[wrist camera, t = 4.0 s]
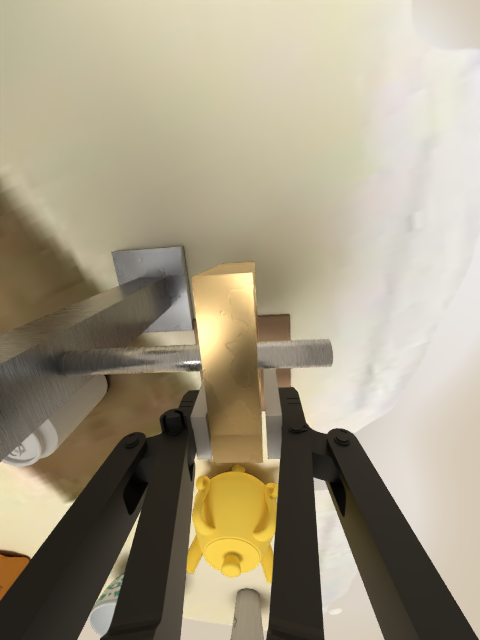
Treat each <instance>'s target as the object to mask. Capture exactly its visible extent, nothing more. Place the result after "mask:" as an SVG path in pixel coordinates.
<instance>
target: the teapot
mask: <svg viewBox="0 0 480 640" xmlns="http://www.w3.org/2000/svg"><path fill="white" fill-rule="evenodd" d="M196 487H197V489H198V490H199V491H198V493H197V495H196V498H195V503H194V508H193V513H192V520H193V523H194V526H195V531H196V536H195V538H194V540H193V542H192V544H191V546H190V548H189V550H188V557H187V569H186V571H187V572H189V573H190V574H193V573H194V571H195V569H196V567H197V565H198V563H199V561H200V559H201V557H202V555H204V558H205V560H206V561H207V562H208V563H209V564H210V565H211V566H212V567H213V568H215V569H217V570H219V571H221V573H222V574H223V575H225V576H227V577H237V576H239V575H240V574H241V573H245V572H248V571H251V570H253V569H254V568H255V567H256V566H258V564H259V563H260V561H261V565H262V568H263V571H264V574H265V577H266V580H267V583H271V582H272V571H273V557H274V555H273V551H272V548H271V545H270V542H271V540H272V538H273V535H274V534H275V528H276V513H277V503H276V500H275V499H276V498H277V497H278V486H277V484H275V483H268V484H266V485H265V484H264V483H263V482H261V481H260V480H259V479H258V478H256V477H254V476H252V475H250V474H247V473H245V467H244V466H242V465H234V466H233V467H232V472H225V473H221V474H219V475H217V476H215V477H213V478H211V479H209V477H207V476H200V477H198V479H197V481H196ZM272 492H273V493H272Z"/></svg>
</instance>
